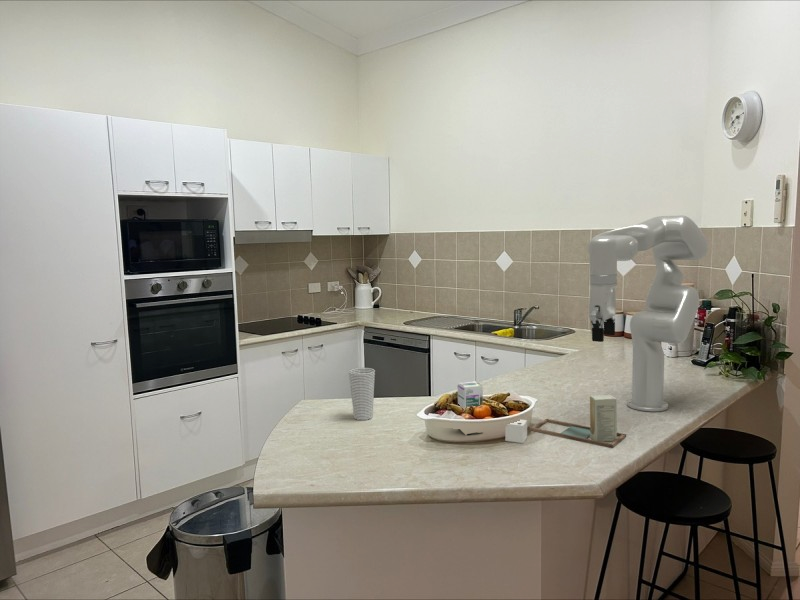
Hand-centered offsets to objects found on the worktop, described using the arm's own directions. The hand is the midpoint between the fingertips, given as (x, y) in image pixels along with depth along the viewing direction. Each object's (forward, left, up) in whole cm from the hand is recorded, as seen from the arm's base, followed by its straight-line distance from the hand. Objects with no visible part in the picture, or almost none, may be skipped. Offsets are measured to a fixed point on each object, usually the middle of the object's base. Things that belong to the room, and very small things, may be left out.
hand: (603, 338), depth 171 cm
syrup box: (+28, -29, -27) cm, 48 cm away
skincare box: (+12, +4, -27) cm, 29 cm away
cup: (+37, -64, -27) cm, 78 cm away
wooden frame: (+12, -3, -27) cm, 29 cm away
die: (+26, -15, -27) cm, 40 cm away
